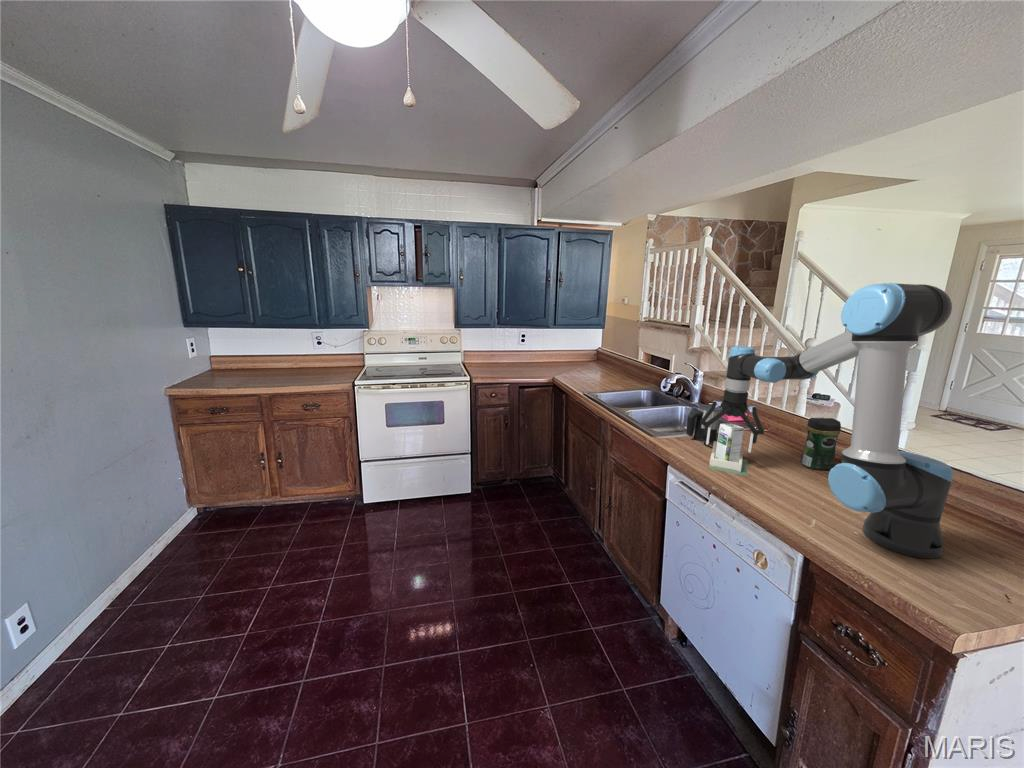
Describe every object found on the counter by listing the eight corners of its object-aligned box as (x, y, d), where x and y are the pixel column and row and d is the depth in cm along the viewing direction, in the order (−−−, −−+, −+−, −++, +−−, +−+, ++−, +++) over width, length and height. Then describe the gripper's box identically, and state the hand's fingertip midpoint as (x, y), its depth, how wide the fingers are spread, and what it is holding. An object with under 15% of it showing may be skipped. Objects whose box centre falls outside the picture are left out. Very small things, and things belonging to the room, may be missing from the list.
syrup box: (713, 460, 152) (718, 423, 148) (726, 459, 153) (731, 422, 150) (725, 467, 146) (731, 428, 143) (738, 465, 148) (744, 427, 145)
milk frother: (701, 435, 182) (705, 403, 179) (736, 446, 169) (741, 412, 166) (681, 440, 175) (685, 407, 172) (715, 453, 162) (720, 417, 159)
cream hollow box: (740, 472, 143) (743, 456, 142) (709, 466, 148) (711, 450, 147) (741, 461, 153) (743, 446, 152) (711, 455, 158) (713, 440, 156)
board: (746, 477, 141) (747, 476, 141) (708, 469, 147) (708, 468, 146) (747, 461, 154) (747, 460, 154) (712, 454, 160) (712, 453, 160)
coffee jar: (821, 462, 155) (831, 415, 151) (837, 471, 147) (847, 422, 143) (795, 461, 155) (804, 414, 151) (809, 470, 148) (819, 421, 143)
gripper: (777, 393, 141) (767, 451, 146) (698, 383, 153) (692, 437, 158) (778, 397, 134) (768, 458, 139) (696, 387, 147) (689, 443, 151)
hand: (727, 447), depth 148 cm, fingers open, 13 cm apart
